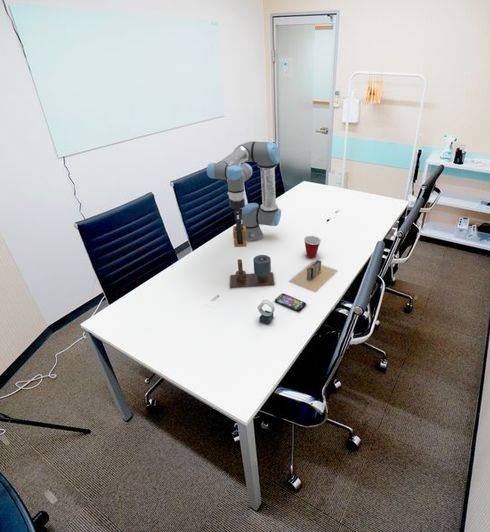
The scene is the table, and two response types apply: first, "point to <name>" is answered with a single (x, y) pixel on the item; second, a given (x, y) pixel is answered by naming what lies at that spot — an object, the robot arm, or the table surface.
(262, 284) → the peg stand
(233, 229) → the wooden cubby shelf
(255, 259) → the blue ring
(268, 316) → the watch
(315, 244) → the plastic cup
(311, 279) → the architectural model on board
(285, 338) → the table surface
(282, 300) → the smartphone
